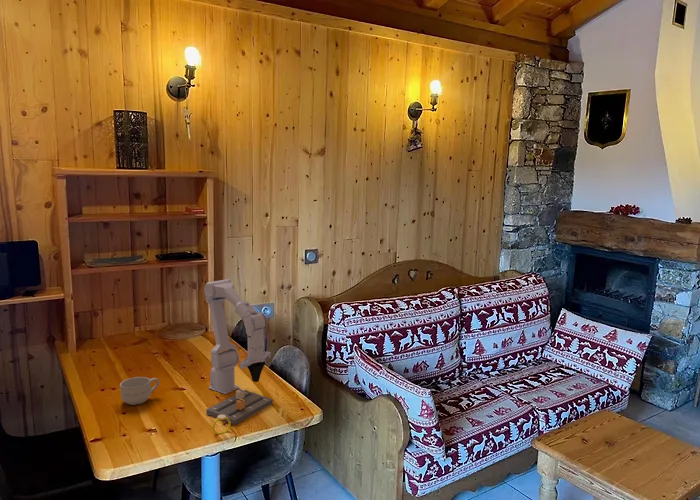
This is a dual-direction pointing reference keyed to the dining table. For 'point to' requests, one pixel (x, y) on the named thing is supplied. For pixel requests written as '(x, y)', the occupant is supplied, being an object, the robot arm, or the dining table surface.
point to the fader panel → (235, 416)
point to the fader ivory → (239, 394)
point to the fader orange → (240, 404)
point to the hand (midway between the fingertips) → (255, 381)
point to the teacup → (137, 389)
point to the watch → (221, 417)
